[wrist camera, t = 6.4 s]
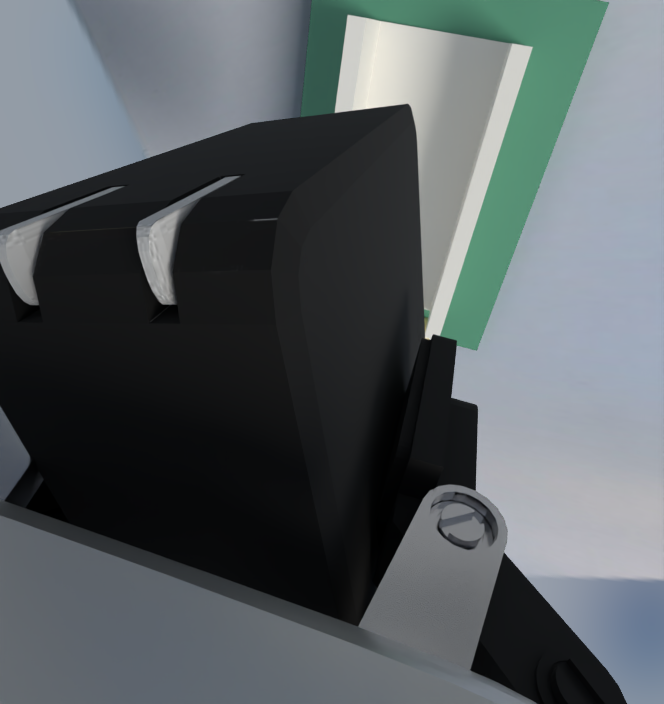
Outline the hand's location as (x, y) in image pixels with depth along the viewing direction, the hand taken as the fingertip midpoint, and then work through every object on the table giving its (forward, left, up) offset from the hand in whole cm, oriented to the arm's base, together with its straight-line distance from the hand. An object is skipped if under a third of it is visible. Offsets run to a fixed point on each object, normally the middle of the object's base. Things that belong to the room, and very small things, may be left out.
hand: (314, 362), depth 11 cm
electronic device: (0, 0, -5) cm, 5 cm away
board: (0, 0, -19) cm, 19 cm away
